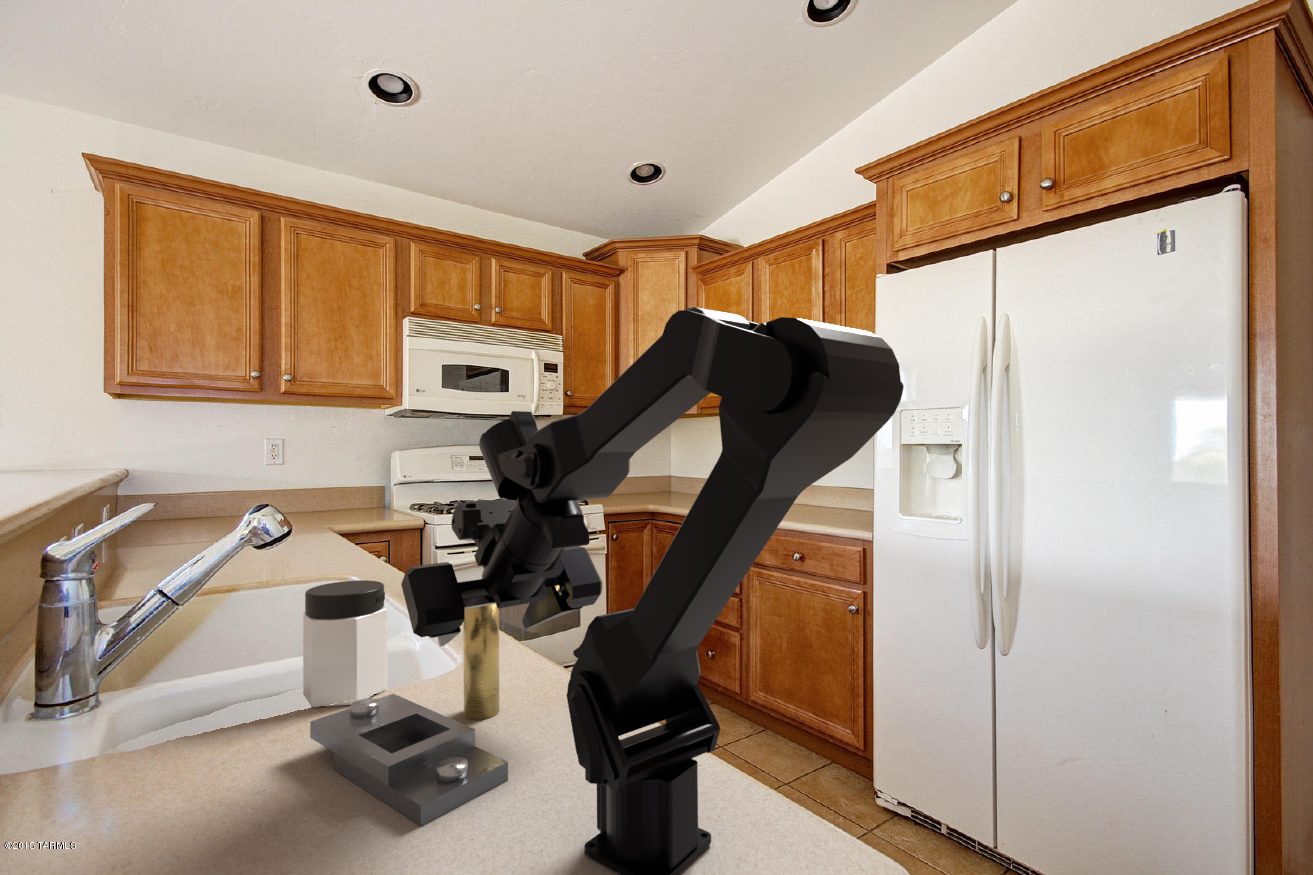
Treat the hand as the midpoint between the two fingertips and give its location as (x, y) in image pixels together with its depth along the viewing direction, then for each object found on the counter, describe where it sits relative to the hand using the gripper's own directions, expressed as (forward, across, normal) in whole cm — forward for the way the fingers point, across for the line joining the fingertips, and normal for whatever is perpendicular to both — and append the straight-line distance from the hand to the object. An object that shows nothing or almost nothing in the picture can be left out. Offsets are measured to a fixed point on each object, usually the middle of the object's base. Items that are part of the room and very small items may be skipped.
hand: (484, 632), depth 65 cm
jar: (+17, +10, -5) cm, 21 cm away
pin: (+6, 0, +6) cm, 9 cm away
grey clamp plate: (+2, +10, +10) cm, 14 cm away
